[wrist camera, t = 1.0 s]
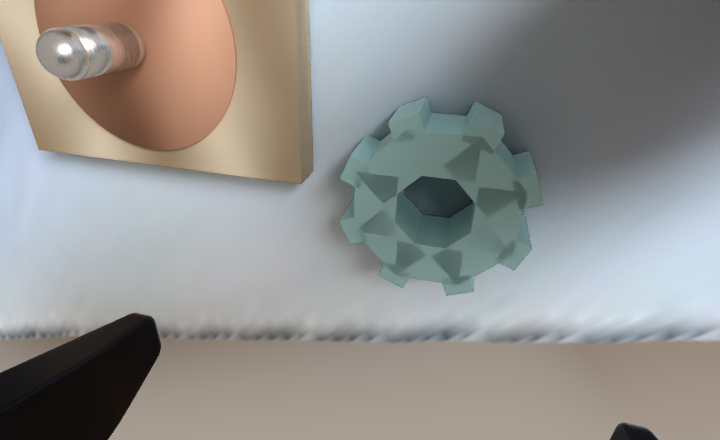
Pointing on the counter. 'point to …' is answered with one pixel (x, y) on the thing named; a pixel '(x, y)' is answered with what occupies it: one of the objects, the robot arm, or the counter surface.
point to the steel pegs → (89, 49)
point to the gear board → (177, 85)
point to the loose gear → (448, 161)
